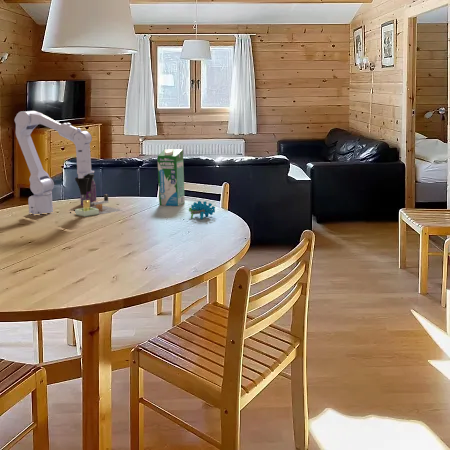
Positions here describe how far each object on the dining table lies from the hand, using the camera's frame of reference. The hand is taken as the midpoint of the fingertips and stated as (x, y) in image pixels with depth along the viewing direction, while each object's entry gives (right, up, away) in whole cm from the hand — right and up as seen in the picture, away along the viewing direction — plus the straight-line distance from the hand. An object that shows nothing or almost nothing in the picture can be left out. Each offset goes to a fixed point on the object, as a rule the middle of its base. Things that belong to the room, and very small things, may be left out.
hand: (85, 193), depth 256 cm
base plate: (+1, -8, +9) cm, 12 cm away
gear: (+49, -11, -4) cm, 50 cm away
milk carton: (+34, -4, +27) cm, 43 cm away
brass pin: (0, -8, +2) cm, 9 cm away
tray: (0, -9, +2) cm, 9 cm away
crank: (+3, -4, +12) cm, 13 cm away
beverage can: (-4, -5, +25) cm, 26 cm away
